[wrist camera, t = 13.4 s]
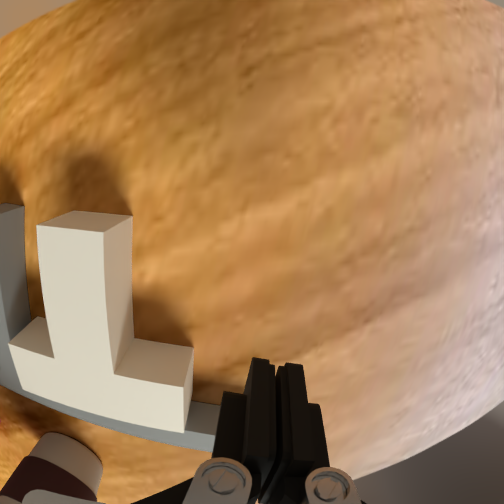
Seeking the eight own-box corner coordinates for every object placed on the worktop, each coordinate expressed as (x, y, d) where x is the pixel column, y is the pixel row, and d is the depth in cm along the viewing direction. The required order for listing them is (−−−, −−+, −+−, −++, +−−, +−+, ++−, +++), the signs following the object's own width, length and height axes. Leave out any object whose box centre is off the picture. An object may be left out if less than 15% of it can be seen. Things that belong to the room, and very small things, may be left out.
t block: (202, 222, 17) (188, 242, 13) (192, 392, 21) (183, 433, 17) (26, 206, 17) (-13, 219, 13) (47, 359, 20) (22, 389, 16)
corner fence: (304, 255, 18) (314, 274, 15) (256, 428, 22) (256, 457, 19) (-13, 200, 16) (-40, 208, 14) (8, 360, 20) (-10, 379, 18)
